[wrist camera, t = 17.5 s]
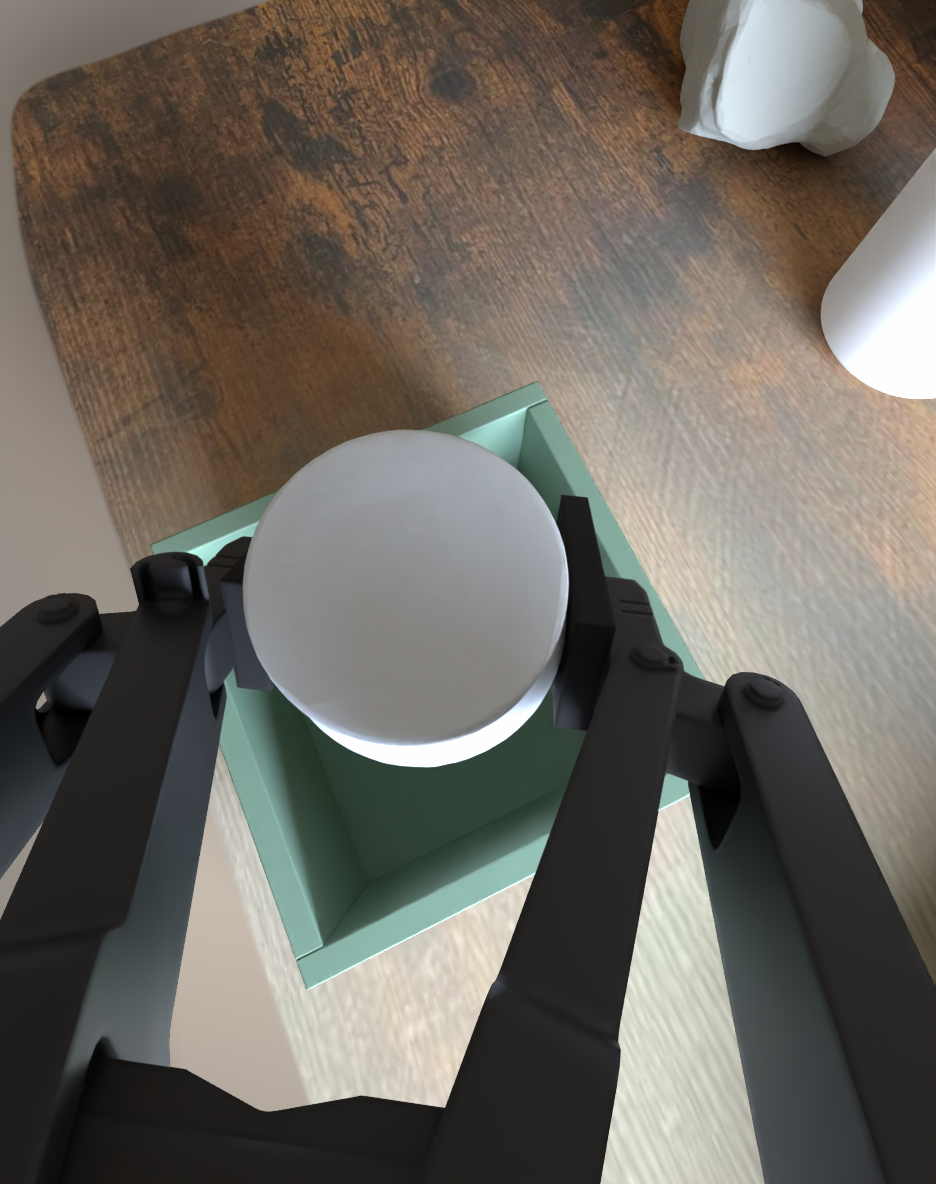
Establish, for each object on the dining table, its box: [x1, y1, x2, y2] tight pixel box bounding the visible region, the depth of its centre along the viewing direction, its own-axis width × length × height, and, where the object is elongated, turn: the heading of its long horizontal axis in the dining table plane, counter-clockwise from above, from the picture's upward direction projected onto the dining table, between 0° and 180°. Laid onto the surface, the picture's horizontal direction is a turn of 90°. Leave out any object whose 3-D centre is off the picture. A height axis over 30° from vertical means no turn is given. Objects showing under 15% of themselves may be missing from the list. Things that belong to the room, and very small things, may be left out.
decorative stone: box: [677, 0, 895, 157], centre depth 29 cm, size 11×9×10 cm
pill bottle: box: [243, 430, 569, 767], centre depth 15 cm, size 6×6×11 cm
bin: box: [150, 381, 705, 990], centre depth 21 cm, size 14×14×8 cm
